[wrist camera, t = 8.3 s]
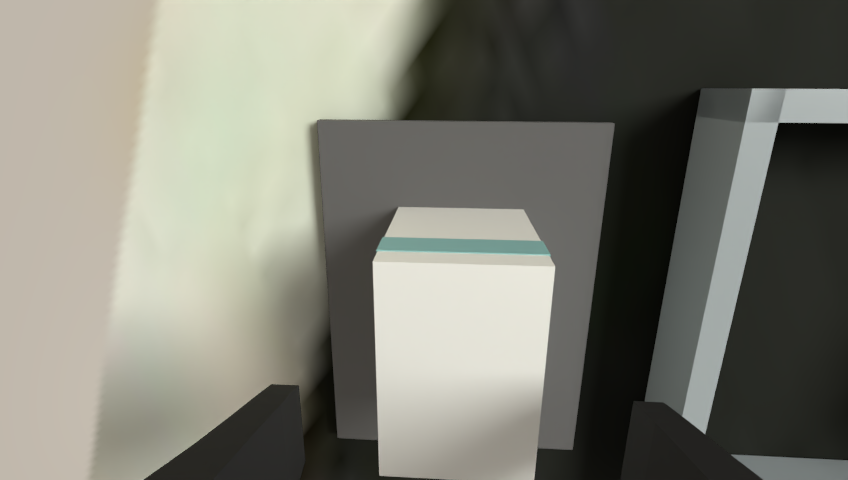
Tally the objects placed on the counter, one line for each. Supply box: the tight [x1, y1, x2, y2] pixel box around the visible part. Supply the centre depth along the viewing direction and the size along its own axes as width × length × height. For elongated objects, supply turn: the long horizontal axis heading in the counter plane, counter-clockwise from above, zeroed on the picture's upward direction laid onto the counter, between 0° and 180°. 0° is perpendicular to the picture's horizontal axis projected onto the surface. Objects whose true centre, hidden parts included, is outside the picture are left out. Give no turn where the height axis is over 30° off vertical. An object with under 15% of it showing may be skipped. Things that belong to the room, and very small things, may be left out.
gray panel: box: [317, 120, 615, 450], centre depth 16 cm, size 12×9×1 cm
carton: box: [373, 207, 555, 480], centre depth 14 cm, size 4×6×5 cm
